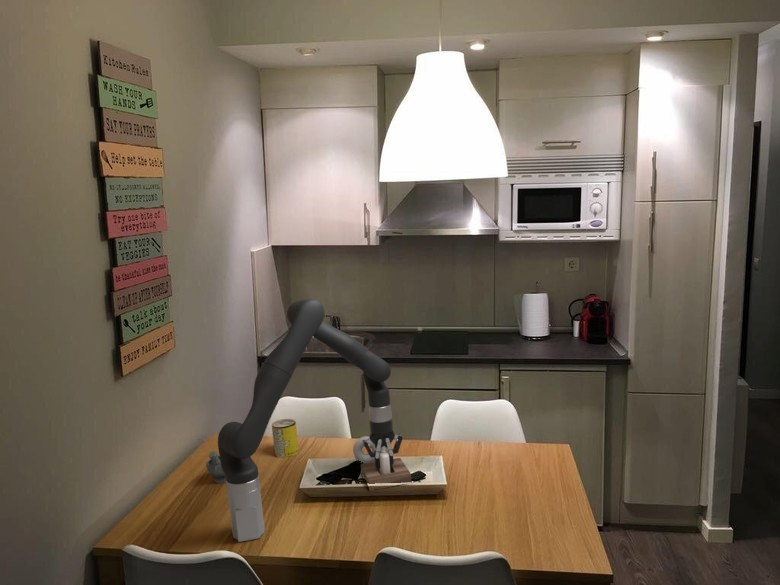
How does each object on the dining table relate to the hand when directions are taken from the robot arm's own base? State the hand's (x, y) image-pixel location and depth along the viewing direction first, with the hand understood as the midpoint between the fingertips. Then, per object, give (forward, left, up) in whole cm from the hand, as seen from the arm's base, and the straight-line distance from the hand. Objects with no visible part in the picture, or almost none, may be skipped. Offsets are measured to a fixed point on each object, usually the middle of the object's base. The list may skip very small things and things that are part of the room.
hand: (384, 466), depth 226 cm
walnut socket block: (0, 0, -4) cm, 4 cm away
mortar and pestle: (+22, +54, -5) cm, 58 cm away
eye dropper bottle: (0, 0, -3) cm, 3 cm away
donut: (+15, +3, -5) cm, 16 cm away
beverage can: (+37, +30, -5) cm, 48 cm away
